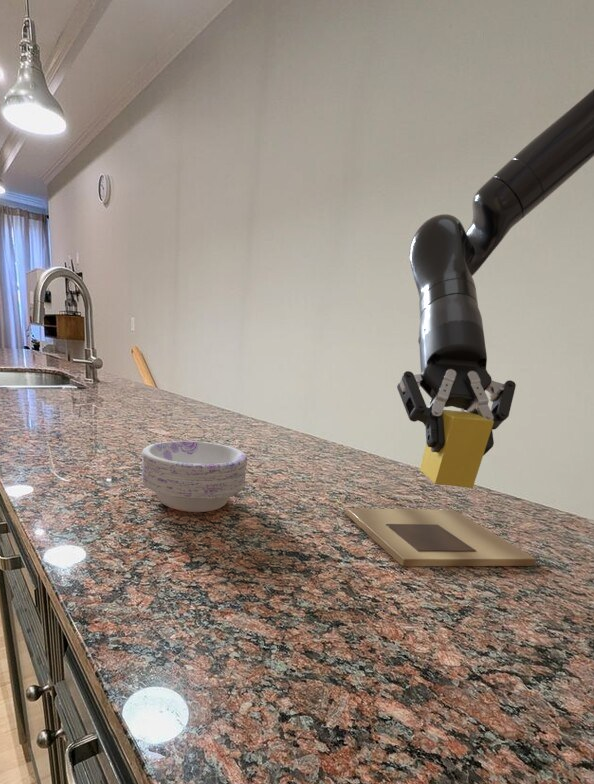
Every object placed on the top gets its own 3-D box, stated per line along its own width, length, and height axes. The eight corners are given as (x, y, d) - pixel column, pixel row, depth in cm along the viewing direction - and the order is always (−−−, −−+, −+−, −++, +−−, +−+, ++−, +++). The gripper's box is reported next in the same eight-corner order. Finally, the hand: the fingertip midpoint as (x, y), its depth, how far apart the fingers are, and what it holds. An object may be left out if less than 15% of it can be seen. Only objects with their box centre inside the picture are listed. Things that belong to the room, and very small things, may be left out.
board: (452, 515, 70) (454, 509, 70) (534, 566, 56) (537, 558, 55) (345, 514, 67) (347, 507, 67) (402, 566, 53) (404, 558, 52)
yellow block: (453, 473, 59) (471, 412, 56) (473, 488, 53) (494, 421, 50) (419, 469, 59) (435, 408, 56) (434, 484, 53) (454, 417, 50)
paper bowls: (183, 479, 77) (186, 433, 74) (260, 502, 69) (266, 452, 66) (119, 501, 66) (119, 448, 63) (202, 532, 58) (207, 473, 55)
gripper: (406, 313, 56) (410, 427, 50) (524, 322, 55) (545, 440, 49) (386, 355, 63) (387, 460, 57) (490, 364, 62) (505, 472, 56)
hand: (460, 450), depth 53 cm, fingers closed on yellow block, 4 cm apart
